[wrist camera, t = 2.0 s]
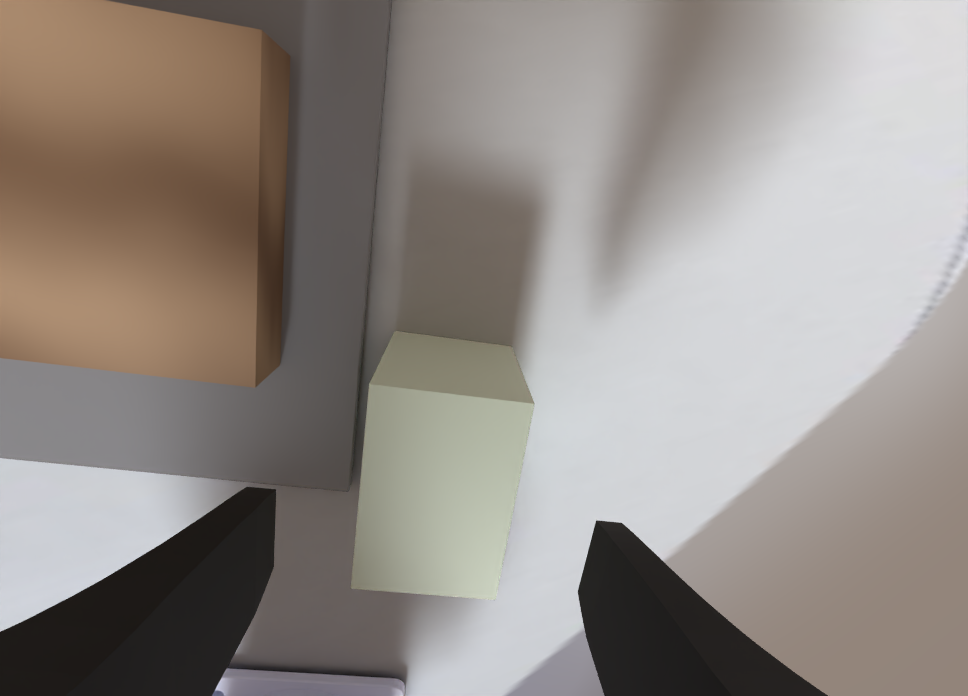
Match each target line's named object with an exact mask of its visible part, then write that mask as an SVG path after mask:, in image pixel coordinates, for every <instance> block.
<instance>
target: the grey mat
mask: <svg viewBox="0 0 968 696" xmlns="http://www.w3.org/2000/svg"><path fill="white" fill-rule="evenodd" d="M107 1H112V2H117V3H123V4H128V5H133V6H138V7H144V8H149V9H154V10H160V11H165V12H170V13H176V14H181V15H186V16H191V17H197V18H202V19H207V20H213V21H218V22H223V23H228V24H234V25H239V26H244V27H250V28H255V29H260V30H262V31H264V32H265V33H266V34H267V35H268V36H269V37H270V38H271V39H272V40H274V41H275V42H276V43H277V44H278V45H279V46H280V47H281V48H282V49H283V50H285V51H286V52H287V53H288V54H289V55H290V83H289V113H288V144H287V174H286V204H285V234H284V264H283V295H282V325H281V355H280V366H279V367H277V368H276V369H275V370H274V371H273V372H272V373H271V374H270V375H269V376H268V377H267V378H265V379H264V380H263V381H262V382H261V383H260V384H259V385H258V386H257V387H256V388H253V387H245V386H236V385H228V384H219V383H210V382H202V381H193V380H184V379H176V378H167V377H159V376H150V375H141V374H133V373H124V372H116V371H107V370H98V369H90V368H81V367H73V366H64V365H55V364H47V363H38V362H30V361H21V360H12V359H4V358H0V458H6V459H16V460H26V461H37V462H47V463H57V464H67V465H78V466H88V467H98V468H109V469H119V470H129V471H140V472H150V473H160V474H170V475H181V476H191V477H201V478H212V479H222V480H232V481H243V482H253V483H263V484H273V485H284V486H294V487H304V488H315V489H325V490H335V491H346V492H348V491H349V488H350V485H351V479H352V467H353V455H354V443H355V432H356V420H357V408H358V396H359V384H360V372H361V360H362V348H363V336H364V324H365V312H366V301H367V289H368V277H369V265H370V253H371V241H372V229H373V217H374V205H375V193H376V181H377V170H378V158H379V146H380V134H381V122H382V110H383V98H384V86H385V74H386V62H387V51H388V39H389V27H390V15H391V3H392V0H107Z"/></svg>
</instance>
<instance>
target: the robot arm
mask: <svg viewBox="0 0 968 696" xmlns="http://www.w3.org/2000/svg"><path fill="white" fill-rule="evenodd" d="M275 507H276V490H275V489H265V488H255V487H246V488H244V489H243V490H241V491H240V492H238V493H237V494H235V495H234V496H232V497H231V498H229V499H228V500H226V501H225V502H223V503H222V504H221V505H219V506H218V507H216V508H215V509H213V510H212V511H210V512H209V513H207V514H206V515H204V516H203V517H202V518H200V519H199V520H197V521H196V522H194V523H192V524H191V525H189V526H188V527H186V528H185V529H183V530H182V531H180V532H179V533H177V534H176V535H174V536H173V537H171V538H170V539H168V540H167V541H165V542H164V543H162V544H161V545H159V546H157V547H156V548H154V549H152V550H151V551H149V552H147V553H146V554H144V555H142V556H141V557H139V558H138V559H136V560H134V561H133V562H131V563H129V564H128V565H126V566H124V567H123V568H121V569H119V570H118V571H116V572H114V573H113V574H111V575H109V576H108V577H106V578H104V579H103V580H101V581H99V582H97V583H95V584H94V585H92V586H90V587H88V588H86V589H85V590H83V591H81V592H79V593H77V594H75V595H74V596H72V597H70V598H68V599H66V600H64V601H62V602H60V603H58V604H56V605H54V606H52V607H50V608H49V609H47V610H45V611H43V612H41V613H39V614H37V615H35V616H33V617H31V618H29V619H27V620H25V621H23V622H21V623H19V624H16V625H14V626H12V627H10V628H8V629H6V630H3V631H1V632H0V696H404V694H405V684H404V683H403V682H402V681H401V680H399V679H395V678H380V677H363V676H346V675H329V674H312V673H295V672H278V671H261V670H245V669H228V668H227V667H228V665H229V663H230V661H231V659H232V657H233V655H234V654H235V652H236V650H237V648H238V646H239V644H240V642H241V640H242V638H243V636H244V635H245V633H246V631H247V629H248V627H249V625H250V623H251V621H252V619H253V617H254V615H255V613H256V611H257V608H258V606H259V603H260V601H261V598H262V596H263V593H264V591H265V588H266V586H267V583H268V580H269V578H270V575H271V573H272V570H273V567H274V539H275ZM578 595H579V601H580V607H581V612H582V618H583V623H584V628H585V633H586V638H587V641H588V644H589V648H590V651H591V654H592V657H593V661H594V664H595V667H596V670H597V673H598V677H599V680H600V683H601V686H602V689H603V692H604V695H605V696H828V695H826V694H825V693H823V692H821V691H820V690H819V689H817V688H816V687H814V686H813V685H811V684H810V683H809V682H807V681H806V680H804V679H803V678H802V677H800V676H799V675H797V674H796V673H795V672H793V671H792V670H790V669H789V668H788V667H786V666H785V665H784V664H783V663H781V662H780V661H779V660H777V659H776V658H775V657H773V656H772V655H771V654H769V653H768V652H767V651H765V650H764V649H763V648H761V647H760V646H759V645H757V644H756V643H755V642H754V641H752V640H751V639H750V638H749V637H747V636H746V635H745V634H744V633H742V632H741V631H740V630H739V629H738V628H736V627H735V626H734V625H733V624H732V623H731V622H729V621H728V620H727V619H726V618H725V617H724V616H722V615H721V614H720V613H719V612H718V611H716V610H715V609H714V608H713V607H712V606H711V605H710V604H708V603H707V602H706V601H705V600H704V599H703V598H702V597H700V596H699V595H698V594H697V593H696V592H695V591H694V590H693V589H692V588H691V587H690V586H688V585H687V584H686V583H685V582H684V581H683V580H682V579H681V578H680V577H679V576H678V575H677V574H676V573H675V572H674V571H672V570H671V569H670V568H669V567H668V566H667V565H666V564H665V563H664V562H663V561H662V560H661V559H660V558H659V557H658V556H657V555H656V554H655V553H654V552H653V551H652V550H651V549H649V548H648V547H647V546H646V545H645V544H644V543H643V542H642V541H641V540H640V539H639V538H638V537H637V536H636V535H635V534H634V533H633V532H631V531H630V530H629V529H628V528H627V527H626V526H625V525H623V524H622V523H616V522H606V521H596V524H595V527H594V531H593V535H592V539H591V543H590V547H589V551H588V554H587V558H586V562H585V566H584V570H583V574H582V578H581V582H580V585H579V589H578Z"/></svg>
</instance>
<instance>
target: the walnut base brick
mask: <svg viewBox="0 0 968 696" xmlns="http://www.w3.org/2000/svg"><path fill="white" fill-rule="evenodd" d="M289 83H290V55H289V54H288V53H287V52H286V51H285V50H283V49H282V48H281V47H280V46H279V45H278V44H277V43H276V42H275V41H274V40H272V39H271V38H270V37H269V36H268V35H267V34H266V33H265V32H264V31H262V30H260V29H255V28H250V27H244V26H239V25H234V24H228V23H223V22H218V21H213V20H207V19H202V18H197V17H191V16H186V15H181V14H176V13H170V12H165V11H160V10H154V9H149V8H144V7H138V6H133V5H128V4H123V3H117V2H112V1H107V0H0V358H4V359H12V360H21V361H30V362H38V363H47V364H55V365H64V366H73V367H81V368H90V369H98V370H107V371H116V372H124V373H133V374H141V375H150V376H159V377H167V378H176V379H184V380H193V381H202V382H210V383H219V384H228V385H236V386H245V387H253V388H256V387H257V386H258V385H259V384H260V383H261V382H262V381H263V380H264V379H265V378H267V377H268V376H269V375H270V374H271V373H272V372H273V371H274V370H275V369H276V368H277V367H279V366H280V355H281V325H282V295H283V264H284V234H285V204H286V174H287V144H288V113H289Z"/></svg>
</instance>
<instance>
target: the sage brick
mask: <svg viewBox="0 0 968 696" xmlns="http://www.w3.org/2000/svg"><path fill="white" fill-rule="evenodd" d="M533 409H534V401H533V399H532V396H531V394H530V391H529V389H528V386H527V384H526V381H525V379H524V376H523V374H522V371H521V369H520V366H519V364H518V361H517V359H516V356H515V354H514V351H513V349H512V346H506V345H498V344H491V343H483V342H476V341H468V340H460V339H453V338H445V337H438V336H430V335H423V334H415V333H407V332H400V331H394V333H393V335H392V338H391V340H390V342H389V344H388V346H387V348H386V350H385V352H384V354H383V356H382V358H381V360H380V362H379V365H378V367H377V369H376V371H375V373H374V375H373V377H372V379H371V381H370V383H369V391H368V402H367V413H366V424H365V435H364V446H363V457H362V468H361V479H360V490H359V501H358V512H357V523H356V534H355V545H354V557H353V568H352V579H351V589H359V590H372V591H385V592H398V593H411V594H424V595H437V596H450V597H463V598H476V599H488V600H496V595H497V590H498V585H499V580H500V575H501V570H502V565H503V560H504V555H505V550H506V545H507V540H508V535H509V530H510V525H511V520H512V515H513V510H514V505H515V500H516V495H517V489H518V484H519V479H520V474H521V469H522V464H523V459H524V454H525V449H526V444H527V439H528V434H529V429H530V424H531V419H532V414H533Z"/></svg>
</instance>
